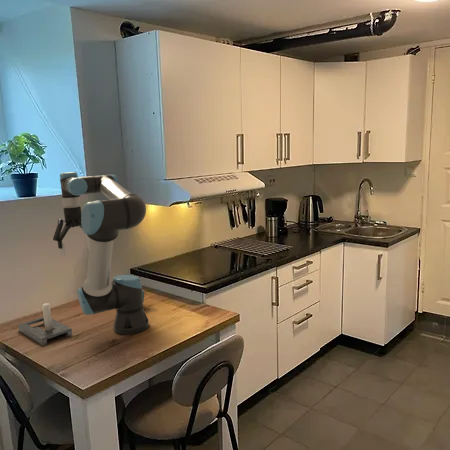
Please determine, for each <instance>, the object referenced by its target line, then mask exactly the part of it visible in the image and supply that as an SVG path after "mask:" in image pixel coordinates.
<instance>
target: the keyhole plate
mask: <svg viewBox="0 0 450 450" xmlns="http://www.w3.org/2000/svg"><path fill="white" fill-rule="evenodd" d="M51 319H52V327H53V330H51V331H48V332H46V331H45V329H43V328H41V327H40V326H34V327H33V326H31V325H34V324H37V323H40V322H42V324H44V316H42V317H38V318H35V319H32V320H29V321H28V320H27V321H25V322H22V323H19V324H17V326H18V332H20V333H21V334H23V335H25V336H26V337H28V338H30V339H31V340H33V341H34V342H36V343H37V344H39V345H40V346H42V347H43V346H46V345H48V340H49V339H53V338H55V337H57V336H60V335H64V336H66V337H71V336H73V331H72V327H69V326H67V325H65V324H64V323H62V322H60V321H58V320H55V319H53V318H52V317H51ZM52 337H53V338H52Z"/></svg>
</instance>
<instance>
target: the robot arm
mask: <svg viewBox="0 0 450 450" xmlns="http://www.w3.org/2000/svg"><path fill="white" fill-rule="evenodd" d="M59 182H60V188H61V198H62V206H63V207H64V208H63V216H64V218H57V225H56V229H55V231H54V235H53V238H52V240H53V241H55V242H57V247H58V248H57V249H59V250H60V255H61V256H63V257H66V248H65V241H64V239H65V237H66V235H67V233H68V232H69V230H70V229H71V228H74V227H79V228H80V229H82V231H83V233H84V234H85V235H86V245H87V250H88V263H87V276H86V279H85V280H84V281H83V283H82V287H81V286H80V287H79V288H78V289H77V290H76V294H77V299H78V303H79V306H80V308H81V310H82V313H83V314H84V315H86V316H91V315H95V314H96V315H97V314H100V313H104V312H108V311H113V310H115V318H114V320H113V325H112V326H113V332H114V333H116V334H119V335H134V334H138V333H142V332H144V331H146V330H147V329H148V328H149V327H150V323H149V322H150V321H149V319H148V317H147V314H146V312H145V310H144V302H143V297H142V290H143V286H142V280H141V278H140V277H138V276H136V275H132V274H121V275H120V274H119V275H115V276H113V278H112V281H111V280H110V276H111V267H112V257H113V249H114V241H115V240H116V239H118V237H119V234H120V233H119V231H124V230H129V229H134V228H135V227H137V226H139V225H140V224H141V223H142V221H144V219H145V217H146V214H147V206H146V203H145V201H144V199H143V198H141V197H140V196H139V195H138V194H135V193H131V192H130V191H128V190H127V189H126V188H124V187H123V186H122V185H121V184H120V181H119V178H118V176H117V175H116V174H103V175H87V176H78V173H77V172H76V171H69V172H68V171H66V172H65V171H64V172H61V173H60V174H59ZM99 193H102V194H103V195H104V197H106V198H107V199H104V200H100V199H97V200H94V201H88V202H87V203H85V204H84V205H83V207H82V206H81V196H83V195H89V194H90V195H91V194H99Z"/></svg>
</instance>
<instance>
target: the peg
mask: <svg viewBox="0 0 450 450" xmlns="http://www.w3.org/2000/svg"><path fill="white" fill-rule="evenodd" d="M41 308H42V314H43V316H42V317H44V323H43V325H44V330H45V331H46V332H48V331H51V330H53V327H52V319H53V318H52V312H51V305H50V303H49V302H45V303H43V304H42V306H41ZM51 318H52V319H51ZM53 338H54V337H52V338H51V339H53Z"/></svg>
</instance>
